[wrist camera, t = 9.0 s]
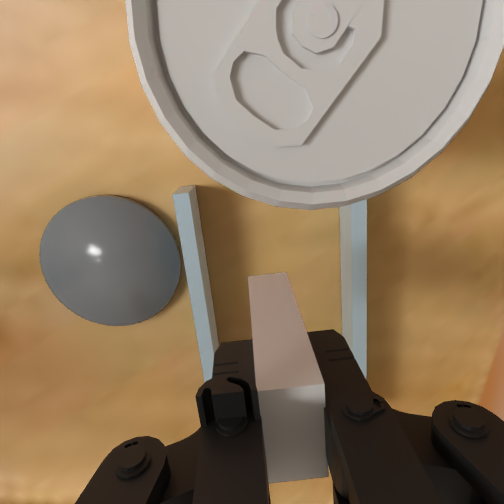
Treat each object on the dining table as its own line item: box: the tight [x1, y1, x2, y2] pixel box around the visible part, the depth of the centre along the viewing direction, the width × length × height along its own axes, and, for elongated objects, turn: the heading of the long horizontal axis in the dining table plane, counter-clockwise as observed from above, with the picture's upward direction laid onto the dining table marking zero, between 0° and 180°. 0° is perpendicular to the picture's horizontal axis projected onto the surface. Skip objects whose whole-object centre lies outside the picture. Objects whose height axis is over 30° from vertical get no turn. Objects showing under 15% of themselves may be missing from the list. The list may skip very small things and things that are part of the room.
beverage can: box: [125, 0, 504, 210], centre depth 12 cm, size 6×6×15 cm
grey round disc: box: [40, 195, 181, 326], centre depth 22 cm, size 8×8×1 cm
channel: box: [172, 185, 367, 382], centre depth 22 cm, size 10×16×2 cm, turn 6°
